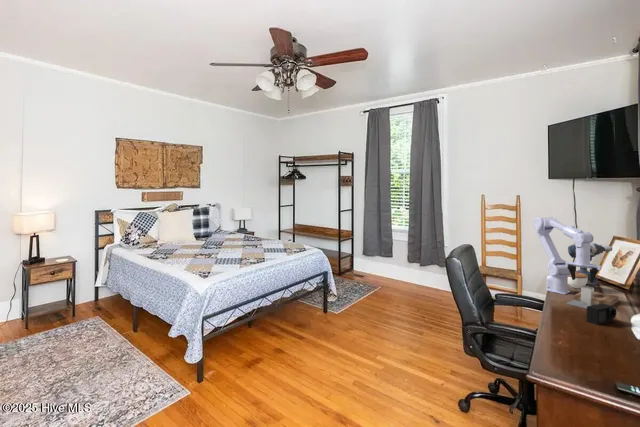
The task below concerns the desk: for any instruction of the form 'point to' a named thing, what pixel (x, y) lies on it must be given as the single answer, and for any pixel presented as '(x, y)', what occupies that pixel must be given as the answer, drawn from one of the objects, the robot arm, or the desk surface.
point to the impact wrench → (594, 251)
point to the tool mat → (576, 303)
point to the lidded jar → (578, 280)
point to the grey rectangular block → (587, 296)
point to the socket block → (601, 298)
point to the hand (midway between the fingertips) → (582, 281)
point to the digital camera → (600, 313)
